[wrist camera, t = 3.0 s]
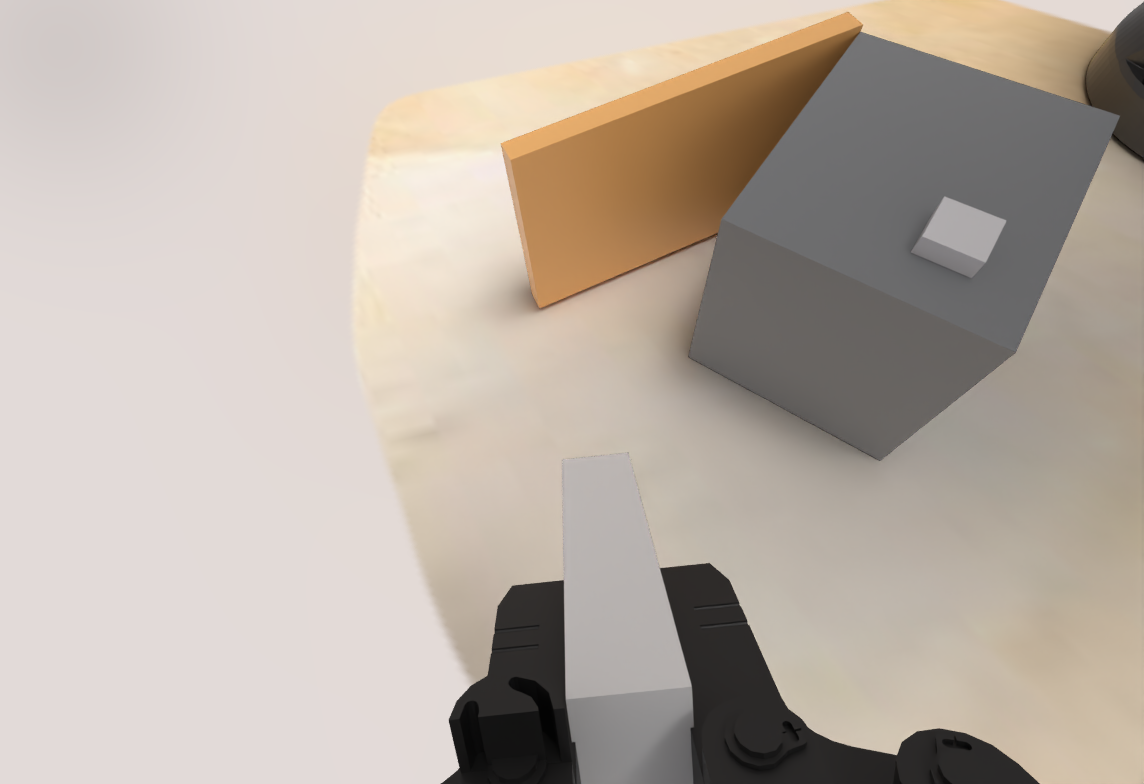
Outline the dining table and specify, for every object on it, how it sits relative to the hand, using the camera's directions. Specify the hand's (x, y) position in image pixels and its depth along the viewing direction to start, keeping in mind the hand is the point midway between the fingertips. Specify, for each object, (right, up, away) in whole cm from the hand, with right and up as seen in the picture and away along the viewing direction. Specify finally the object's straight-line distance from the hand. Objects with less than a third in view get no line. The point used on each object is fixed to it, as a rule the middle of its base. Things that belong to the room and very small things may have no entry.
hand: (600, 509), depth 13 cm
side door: (+4, +11, +19) cm, 23 cm away
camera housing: (+13, +7, +17) cm, 23 cm away
